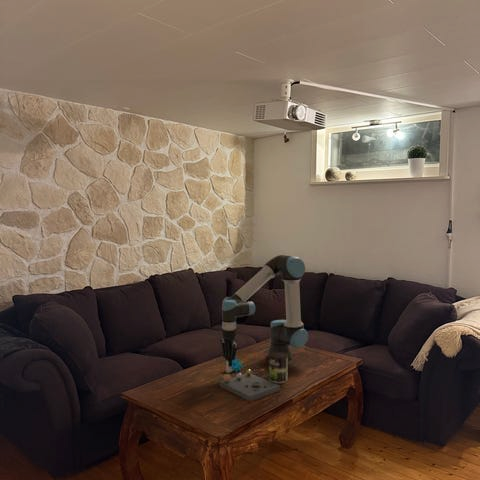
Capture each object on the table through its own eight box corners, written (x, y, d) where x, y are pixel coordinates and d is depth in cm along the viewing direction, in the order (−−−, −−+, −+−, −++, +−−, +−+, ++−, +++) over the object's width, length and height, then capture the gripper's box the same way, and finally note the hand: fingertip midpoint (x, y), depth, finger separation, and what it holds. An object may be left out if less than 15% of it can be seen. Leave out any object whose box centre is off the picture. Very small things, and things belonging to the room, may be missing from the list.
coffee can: (280, 384, 234) (280, 358, 233) (264, 379, 241) (265, 354, 240) (291, 379, 242) (292, 354, 241) (276, 374, 249) (276, 349, 248)
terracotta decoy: (227, 380, 234) (227, 372, 234) (232, 382, 231) (232, 374, 231) (221, 381, 232) (221, 374, 231) (226, 384, 228) (226, 376, 228)
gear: (230, 371, 249) (225, 355, 255) (225, 376, 252) (220, 360, 258) (246, 370, 255) (241, 354, 261) (241, 375, 258) (236, 359, 264)
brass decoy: (249, 373, 243) (249, 368, 243) (253, 375, 241) (253, 369, 241) (244, 375, 241) (244, 369, 241) (248, 376, 239) (248, 370, 238)
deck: (219, 386, 232) (219, 381, 232) (248, 377, 245) (248, 372, 245) (250, 401, 214) (250, 396, 214) (279, 390, 227) (279, 385, 227)
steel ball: (239, 377, 238) (239, 371, 237) (243, 379, 235) (243, 373, 235) (235, 379, 236) (235, 373, 235) (239, 380, 233) (239, 374, 233)
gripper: (216, 327, 243) (216, 369, 245) (231, 332, 233) (231, 376, 235) (227, 325, 248) (226, 366, 249) (242, 330, 238) (241, 373, 239)
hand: (228, 371), depth 242 cm, fingers closed
